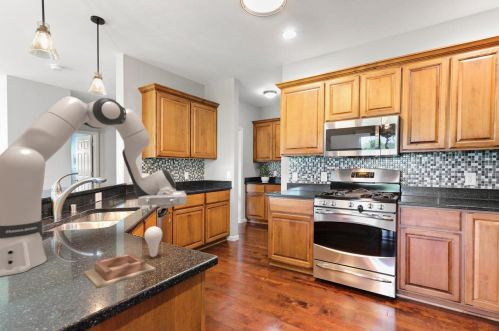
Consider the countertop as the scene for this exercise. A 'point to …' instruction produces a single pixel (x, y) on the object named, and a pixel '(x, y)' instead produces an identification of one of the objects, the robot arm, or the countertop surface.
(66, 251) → the countertop surface
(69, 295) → the countertop surface
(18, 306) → the countertop surface
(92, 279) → the socket block
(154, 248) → the lightbulb
